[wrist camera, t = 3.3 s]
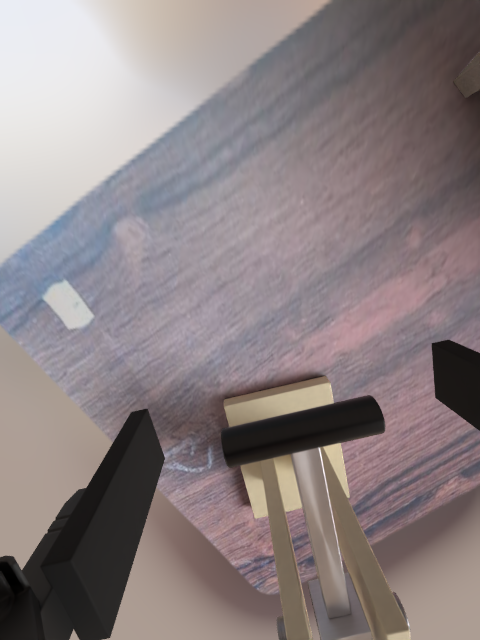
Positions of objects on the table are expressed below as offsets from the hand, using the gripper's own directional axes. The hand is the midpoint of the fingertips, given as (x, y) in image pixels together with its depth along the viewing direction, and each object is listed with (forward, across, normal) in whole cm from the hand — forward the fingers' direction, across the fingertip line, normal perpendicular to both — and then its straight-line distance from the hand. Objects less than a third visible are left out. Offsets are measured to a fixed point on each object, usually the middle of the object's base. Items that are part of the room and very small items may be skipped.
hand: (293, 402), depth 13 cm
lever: (-1, 0, -6) cm, 6 cm away
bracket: (+11, 0, -11) cm, 16 cm away
